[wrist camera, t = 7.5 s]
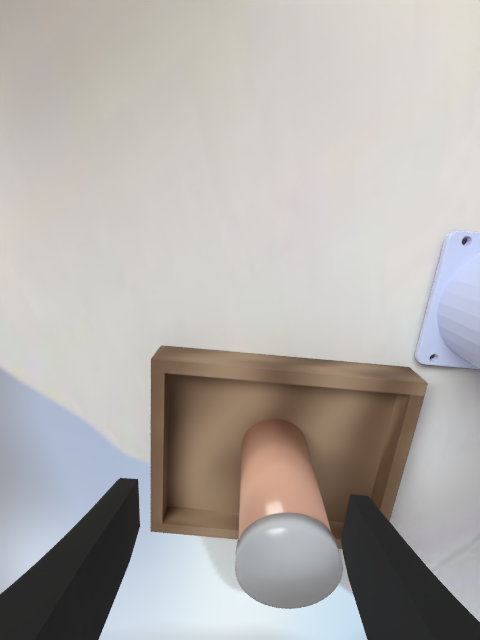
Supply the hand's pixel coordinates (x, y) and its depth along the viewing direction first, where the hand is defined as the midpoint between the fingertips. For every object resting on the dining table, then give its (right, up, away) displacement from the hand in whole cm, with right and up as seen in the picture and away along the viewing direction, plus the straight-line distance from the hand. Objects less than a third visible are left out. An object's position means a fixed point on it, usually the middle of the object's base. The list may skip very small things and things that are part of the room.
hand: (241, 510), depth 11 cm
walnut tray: (+2, -2, +11) cm, 12 cm away
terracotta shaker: (+2, -2, +11) cm, 11 cm away
